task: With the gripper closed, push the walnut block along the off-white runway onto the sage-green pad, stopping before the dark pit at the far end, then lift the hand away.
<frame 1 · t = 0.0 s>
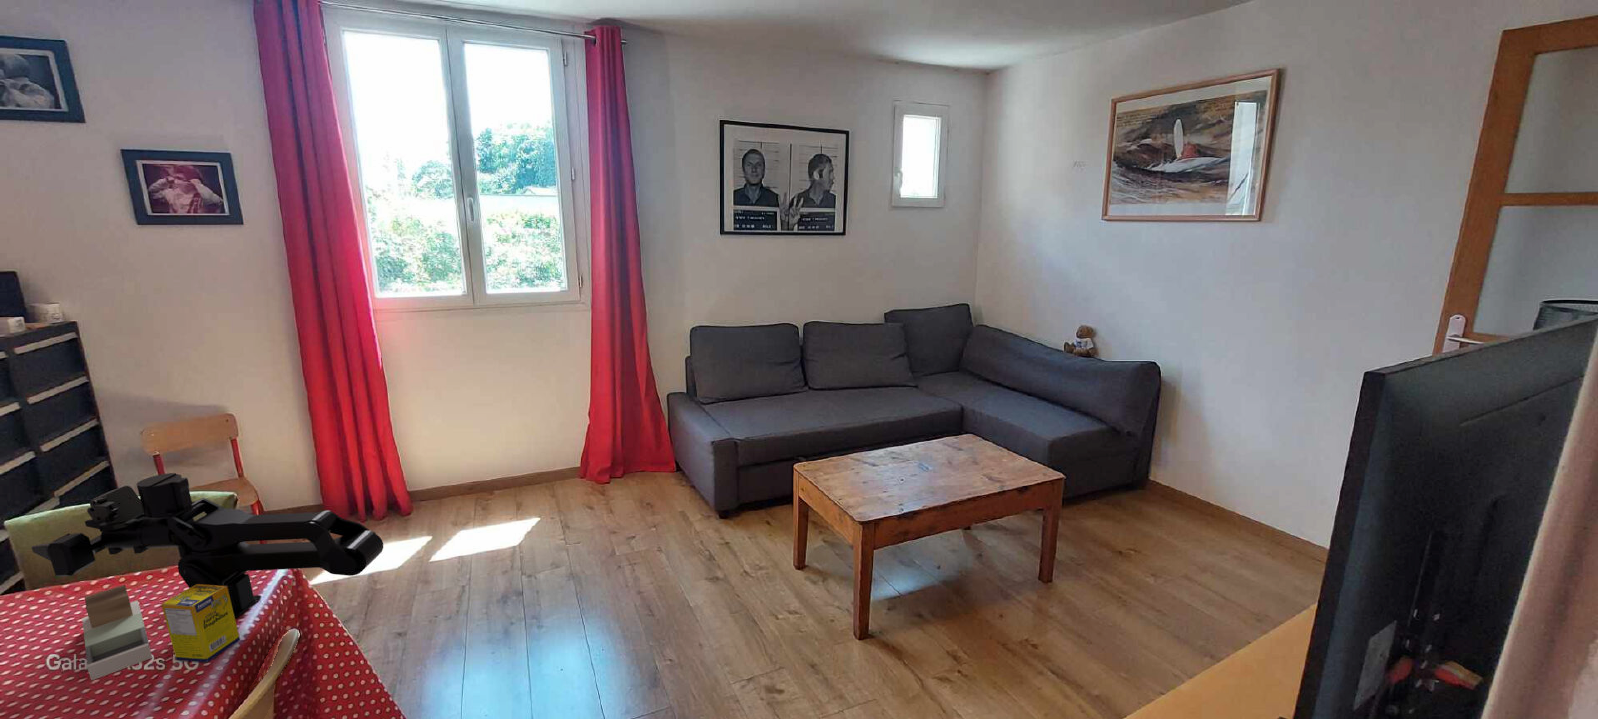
hand: (60, 535, 114), 17 cm above the table, tool horizontal, fingers open, 9 cm apart
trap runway: (120, 655, 108), on the table
walnut block: (111, 615, 114), point 2 cm above the table, touching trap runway
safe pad: (117, 641, 111), on the table
supplement box: (209, 651, 109), on the table
cork: (217, 582, 129), on the table
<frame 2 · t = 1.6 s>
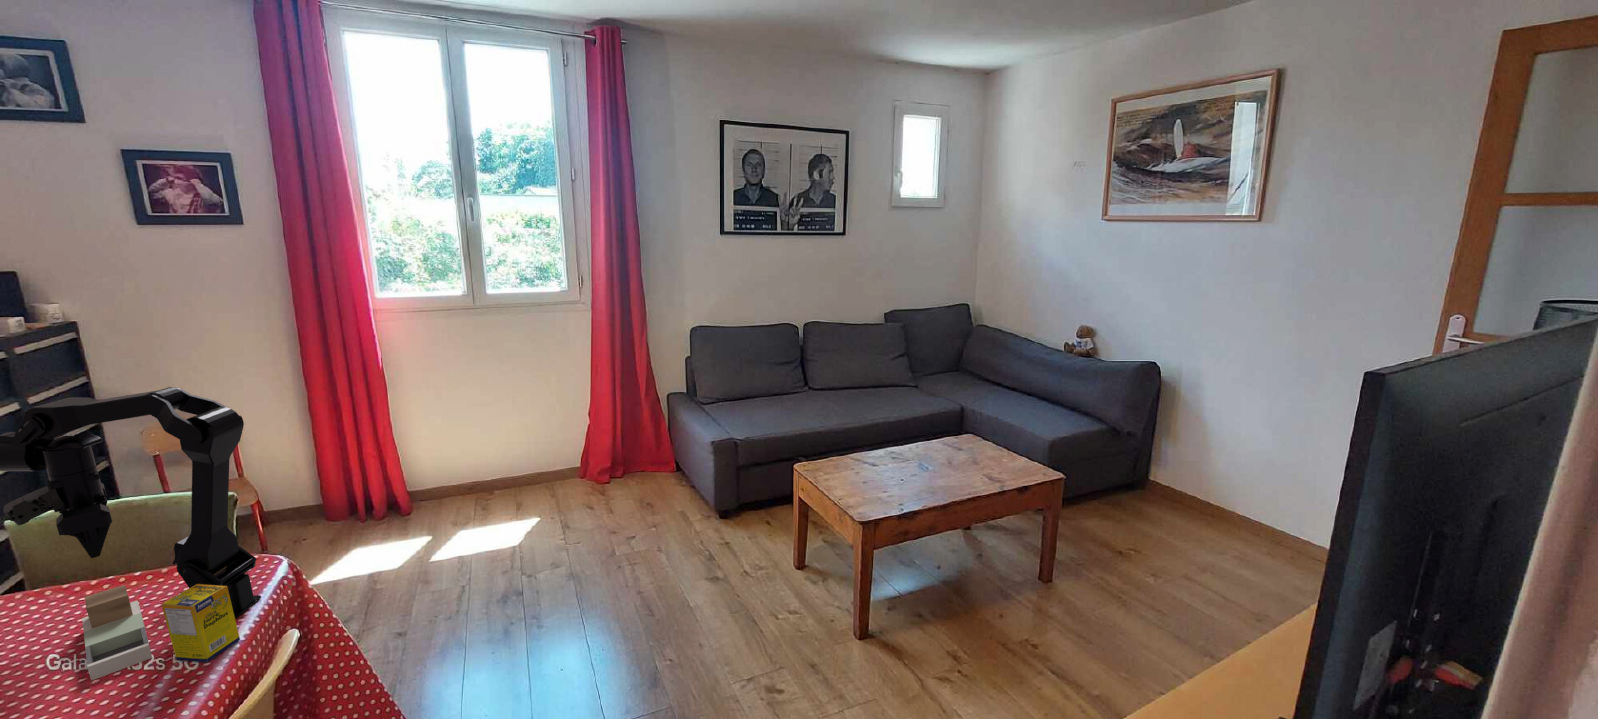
hand: (94, 549, 116), 13 cm above the table, tool pointing down, fingers open, 8 cm apart
nothing on the table moved.
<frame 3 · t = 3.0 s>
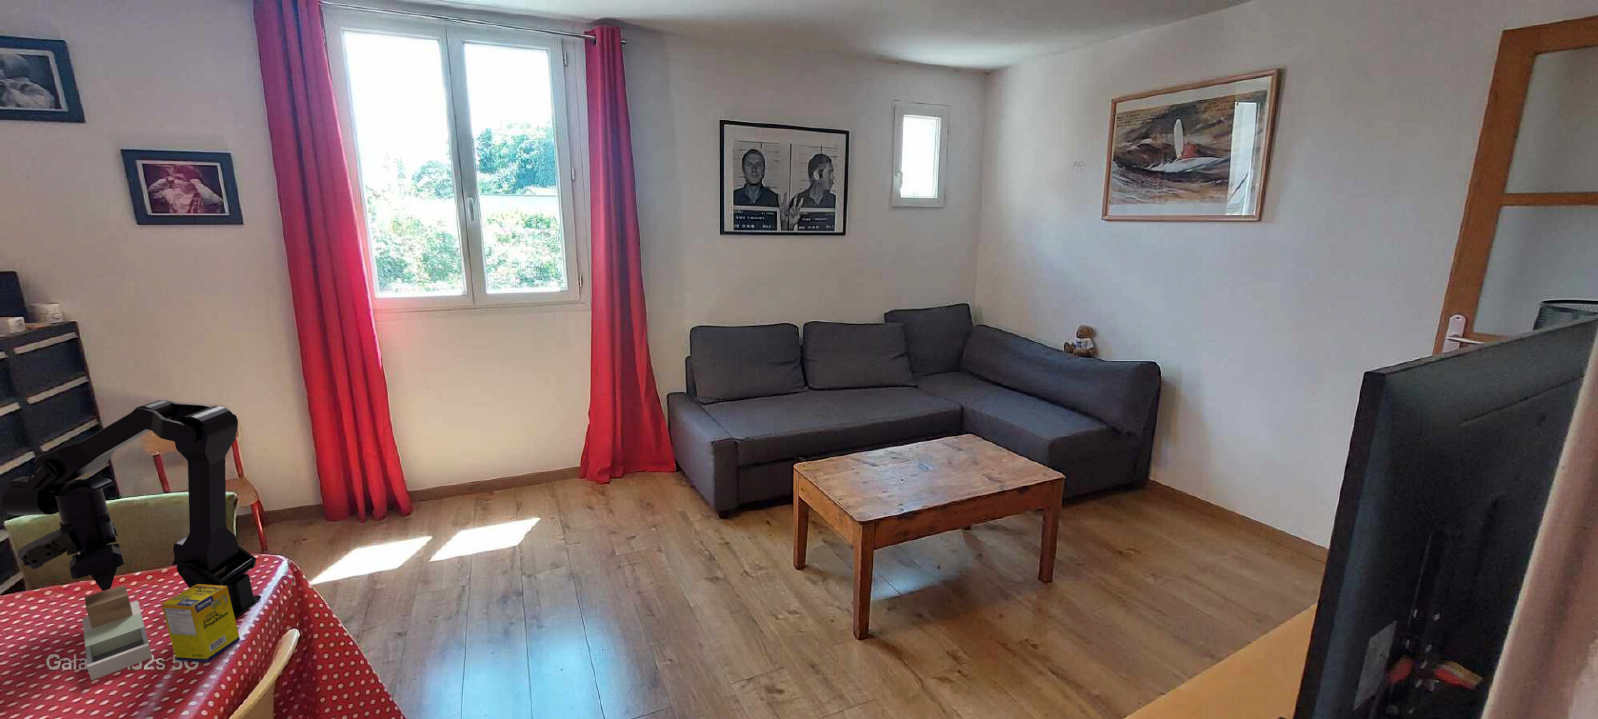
hand: (106, 589, 118), 5 cm above the table, tool pointing down, fingers closed
nothing on the table moved.
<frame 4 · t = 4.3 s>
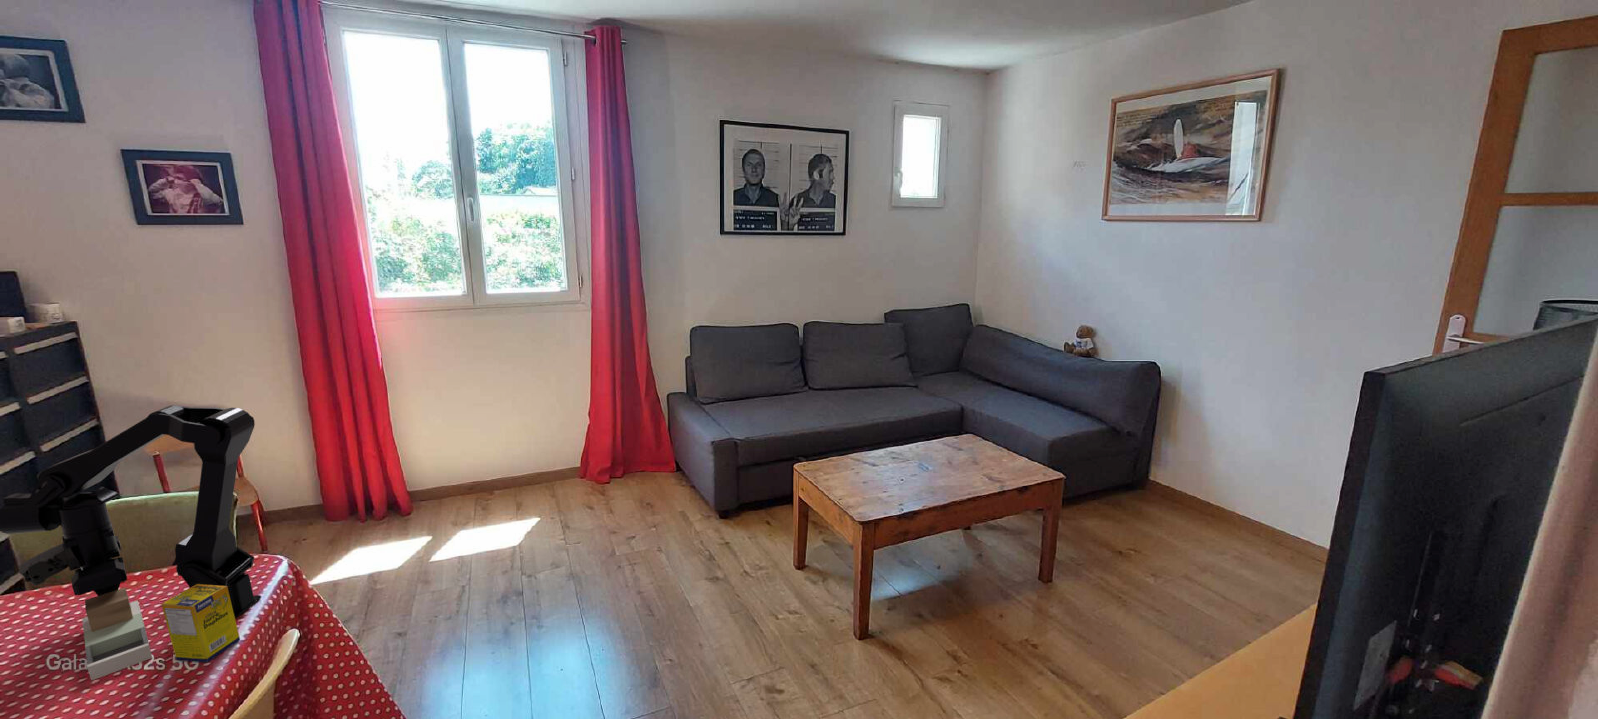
hand: (109, 604, 116), 3 cm above the table, tool pointing down, fingers closed
walnut block: (111, 618, 113), point 3 cm above the table, touching gripper
everything else where it was.
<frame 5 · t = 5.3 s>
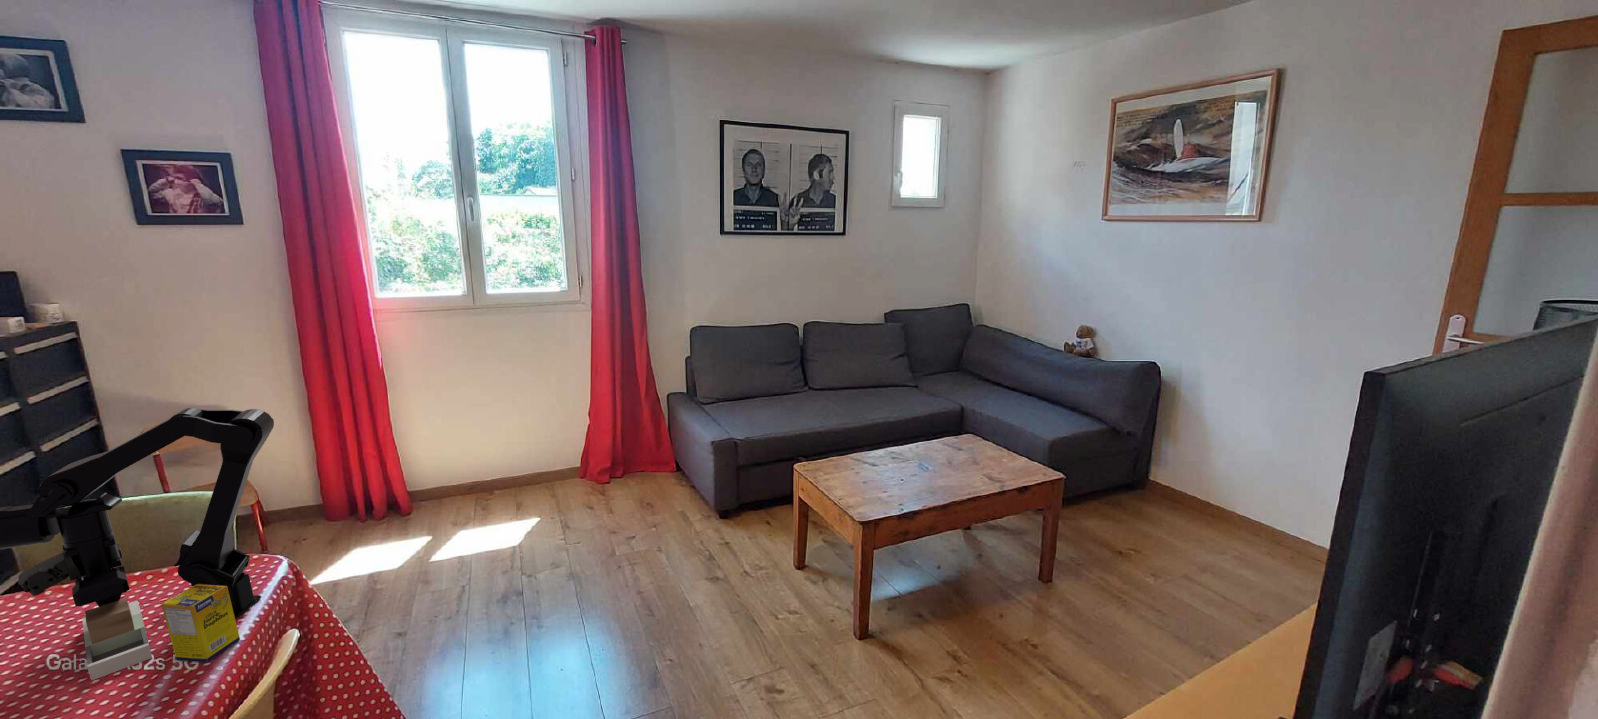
hand: (110, 614, 113), 4 cm above the table, tool pointing down, fingers closed
walnut block: (112, 630, 110), point 3 cm above the table, touching gripper
everything else where it was.
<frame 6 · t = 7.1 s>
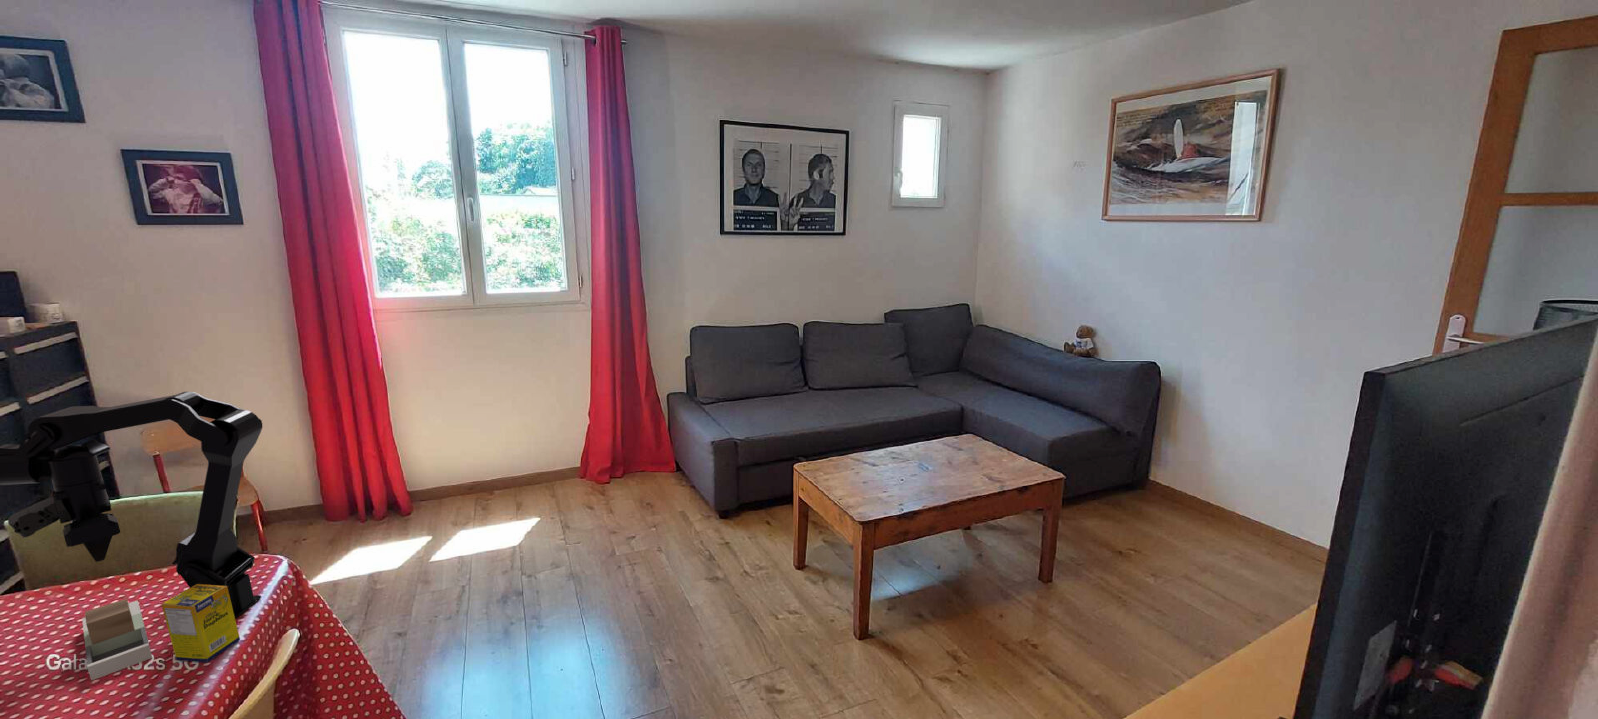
hand: (100, 560, 114), 12 cm above the table, tool pointing down, fingers closed
walnut block: (112, 631, 110), point 2 cm above the table, touching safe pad
everything else where it was.
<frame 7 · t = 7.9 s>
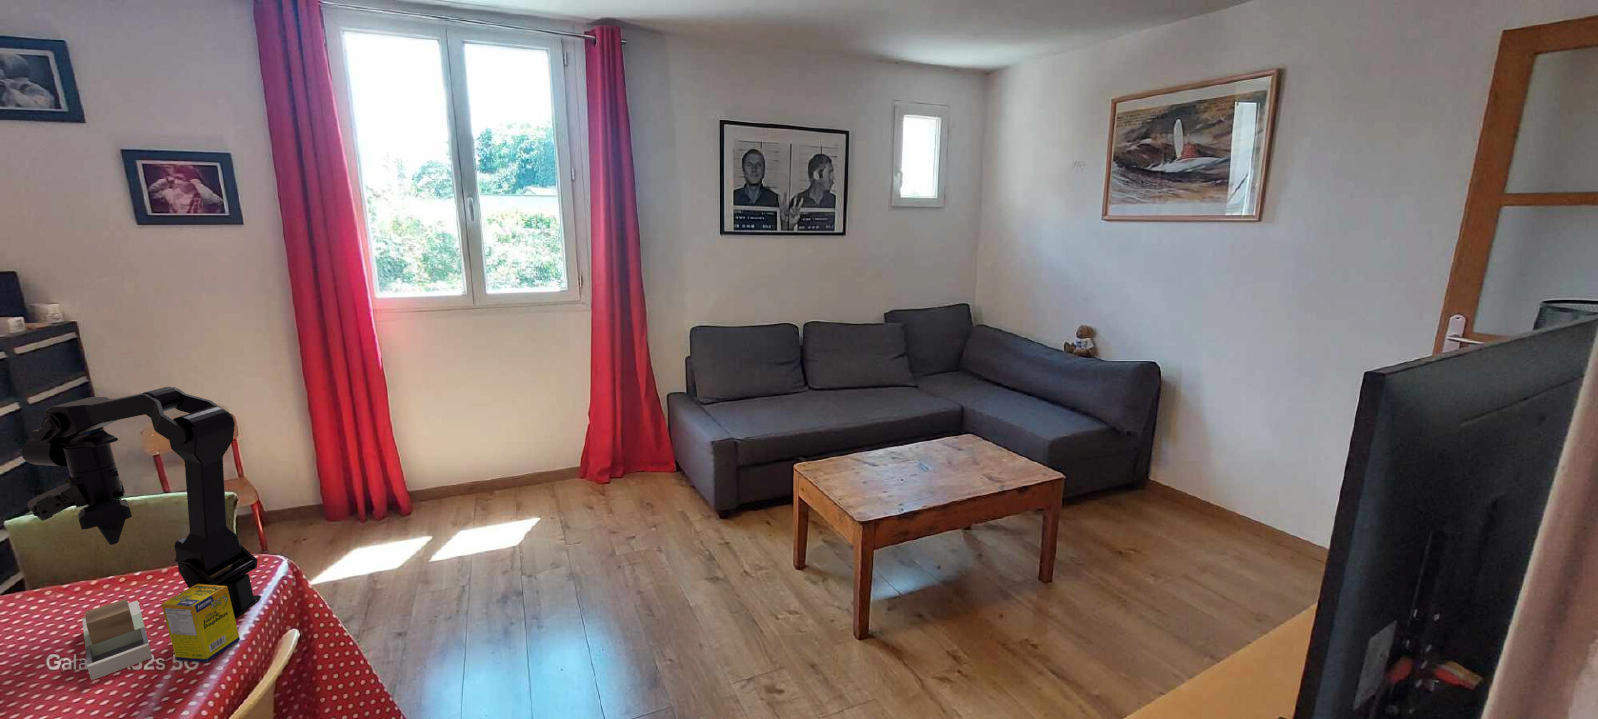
hand: (113, 543, 120), 12 cm above the table, tool pointing down, fingers closed
nothing on the table moved.
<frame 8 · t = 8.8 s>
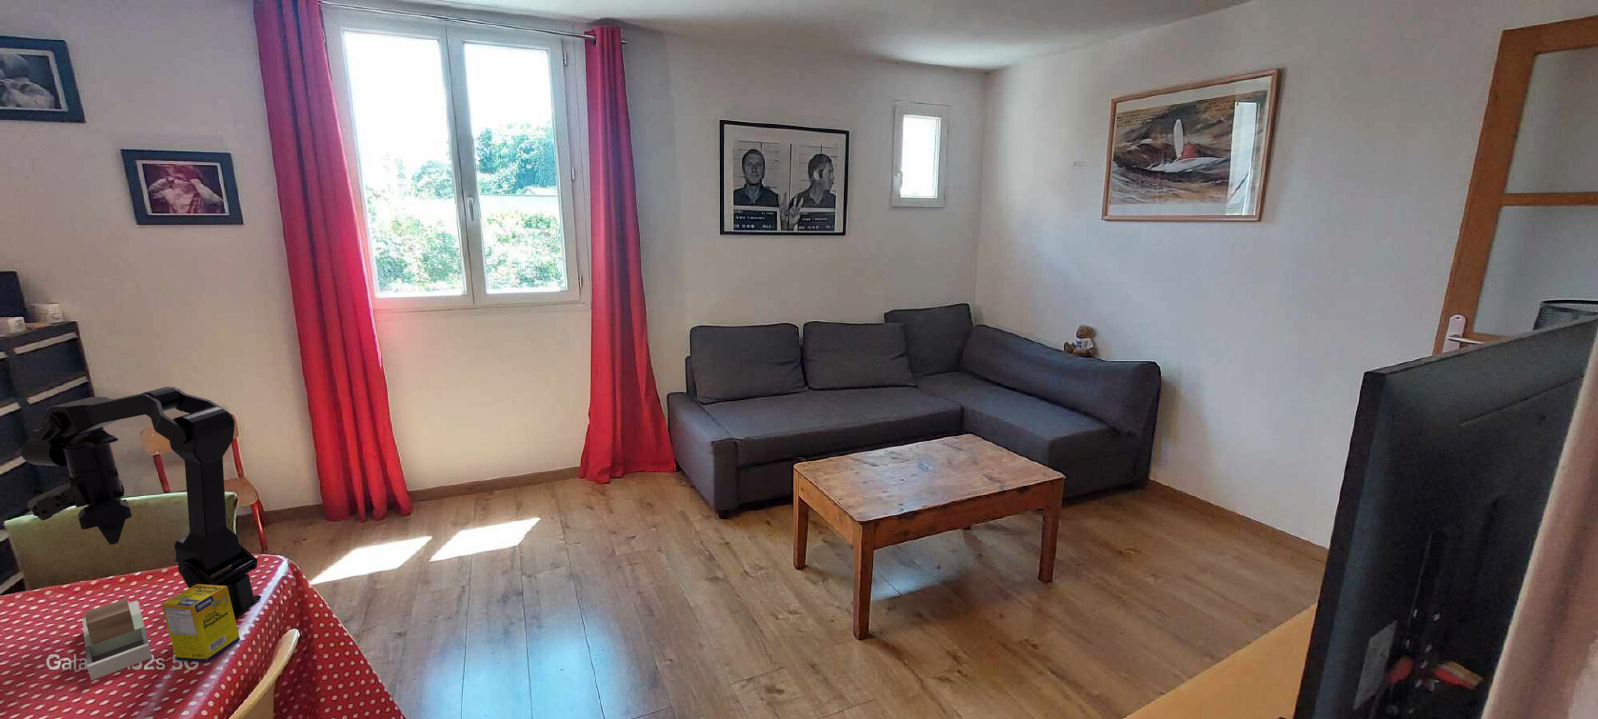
hand: (114, 543, 120), 12 cm above the table, tool pointing down, fingers closed
nothing on the table moved.
at the end: walnut block 0.6 cm from the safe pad (horizontally); walnut block point 2.5 cm above the table; walnut block tilted 0° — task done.
